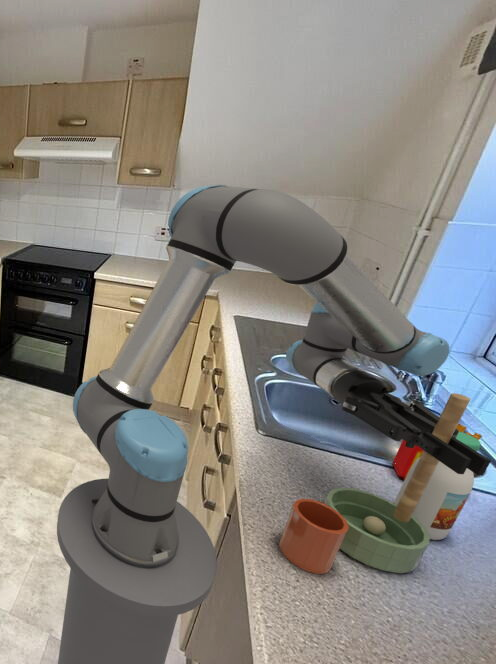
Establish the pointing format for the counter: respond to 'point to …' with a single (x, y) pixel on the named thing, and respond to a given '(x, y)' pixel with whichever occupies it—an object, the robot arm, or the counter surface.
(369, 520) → the ball
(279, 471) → the counter surface
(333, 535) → the utensil cup
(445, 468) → the milk bottle
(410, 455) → the french fries container
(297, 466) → the counter surface
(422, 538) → the bowl
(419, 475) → the stirring stick
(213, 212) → the robot arm
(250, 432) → the counter surface
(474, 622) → the counter surface
